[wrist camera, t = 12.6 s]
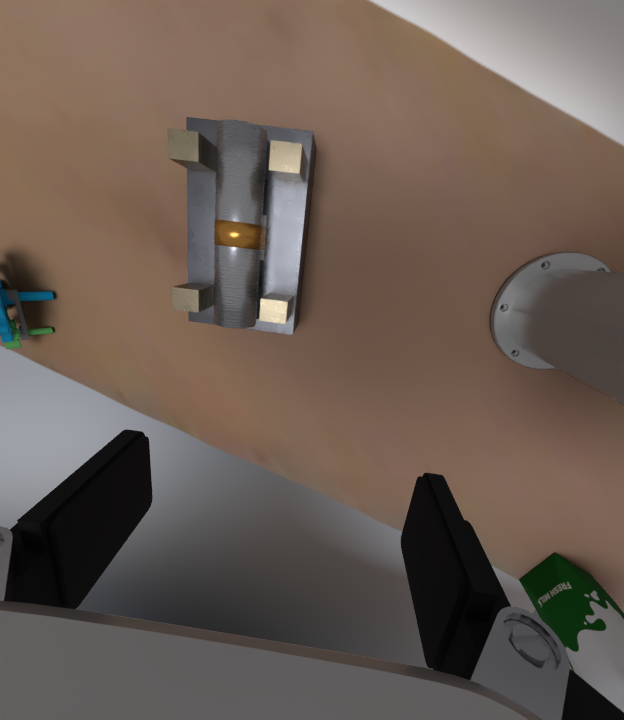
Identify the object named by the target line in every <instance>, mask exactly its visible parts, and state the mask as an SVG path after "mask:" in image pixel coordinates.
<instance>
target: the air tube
mask: <svg viewBox="0 0 624 720" xmlns="http://www.w3.org/2000/svg"><path fill="white" fill-rule="evenodd" d="M267 134H268V133H267V131H266V130H264V129H263V128H261V127H259V126H257V125H254V124H251V123H248V122H244V121H238V120H221V121H218V122H217V139H216V203H215V228H214V244H215V267H214V323H215V324H216V325H219V326H222V327H228V328H250V327H254V326H255V325H256V316H257V299H258V283H259V266H260V250H261V242H262V217H263V200H264V184H265V167H266V151H267Z"/></svg>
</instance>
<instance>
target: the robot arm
mask: <svg viewBox="0 0 624 720" xmlns="http://www.w3.org/2000/svg"><path fill="white" fill-rule="evenodd" d="M542 263H543V265H542V267H541V264H542ZM501 305H502V308H501V309H500V306H501ZM490 322H491V332H492V335H493V339H494V341H495V343H496V345H497V346H498V348H499V349H500V350H501V351H502V352H503V354H504V355H506V356H507V357H508V358H510V359H511V360H513V361H515V362H516V363H518V364H520V365H523V366H526V367H529V368H534V369H554V368H557V369H559V370H561V371H563V372H565V373H566V374H568V375H570V376H572V377H574V378H576V379H577V380H579V381H581V382H583V383H585V384H586V385H588V386H590V387H592V388H594V389H596V390H597V391H599V392H601V393H603V394H605V395H607V396H608V397H610V398H612V399H614V400H616V401H618V402H619V403H621V404H623V405H624V273H617V272H612V271H611V270H610V269H609V267H608V266H606V265H605V264H604V263H603V262H601V261H600V260H598V259H596V258H594V257H592V256H590V255H585V254H581V253H570V252H565V253H554V254H550V255H546V256H542V257H540V258H537V259H535V260H533V261H531V262H529V263H527V264H526V265H524V266H523V267H521V268H520V269H518V270H517V271H516V272H515V273H514V274H513V275H512V276H511V277H510V278H509V279H508V280H507V281H506V282H505V284H504V285H503V286H502V288H501V289H500V291H499V293H498V295H497V296H496V298H495V301H494V304H493V307H492V312H491V318H490ZM512 351H513V352H512ZM151 503H152V483H151V467H150V450H149V439H148V437H145V435H144V433H143V432H140V431H134V430H124V431H122V432H121V433H120V434H119V435H117V436H116V437H115V438H114V439H113V440H112V441H111V442H109V443H108V444H107V445H106V446H104V447H103V448H102V449H101V450H100V451H99V452H97V453H96V454H95V455H94V456H93V457H91V458H90V459H89V460H88V461H87V462H86V463H84V464H83V465H82V466H81V467H80V468H79V469H77V470H76V471H75V472H74V473H73V474H71V475H70V476H69V477H68V478H67V479H66V480H64V481H63V482H62V483H61V484H60V485H59V486H57V487H56V488H55V489H54V490H53V491H51V492H50V493H49V494H48V495H47V496H46V497H44V498H43V499H42V500H41V501H40V502H38V503H37V504H36V505H35V506H34V507H33V508H31V509H30V510H29V511H28V512H27V513H26V514H24V515H23V516H22V517H21V518H20V519H18V520H17V521H18V523H17V524H16V525H15V526H14V527H12V528H11V529H10V530H9V529H7V528H4V527H0V720H624V712H622V711H621V710H620V709H619V708H618V707H616V706H615V705H614V704H613V703H611V702H610V701H609V700H608V699H607V698H605V697H604V696H603V695H602V694H600V693H599V692H598V691H597V690H596V689H594V688H593V687H592V686H591V685H589V684H588V683H587V682H586V681H585V680H583V679H582V678H581V677H580V676H579V675H577V674H576V673H575V672H574V671H572V670H571V669H570V665H569V657H568V654H567V652H566V649H565V647H564V645H563V644H562V642H561V641H560V639H559V638H558V636H557V635H556V634H555V633H554V632H553V630H552V629H551V628H550V627H549V626H548V625H547V624H546V623H544V622H543V621H542V620H541V619H540V618H538V617H537V616H535V615H534V614H532V613H530V612H529V611H527V610H524V609H521V608H518V607H511V605H510V603H509V601H508V599H507V597H506V595H505V593H504V591H503V589H502V587H501V585H500V583H499V581H498V579H497V577H496V574H495V572H494V571H493V568H492V566H491V564H490V562H489V560H488V558H487V556H486V554H485V552H484V550H483V548H482V546H481V544H480V541H479V539H478V537H477V535H476V533H475V531H474V529H473V527H472V526H471V524H470V523H469V522H468V521H466V520H464V519H463V517H462V515H461V512H460V510H459V508H458V506H457V504H456V502H455V500H454V497H453V495H452V493H451V491H450V489H449V487H448V485H447V482H446V480H445V478H444V477H443V476H442V475H438V474H431V473H424V474H423V477H421V476H419V477H418V478H417V481H416V484H415V488H414V492H413V495H412V499H411V503H410V506H409V510H408V513H407V517H406V521H405V524H404V528H403V532H402V536H401V548H402V554H403V558H404V563H405V568H406V572H407V577H408V581H409V586H410V591H411V596H412V600H413V605H414V609H415V614H416V618H417V624H418V628H419V633H420V638H421V642H422V647H423V652H424V656H425V661H426V664H427V666H428V668H432V669H433V670H431V669H427V668H422V667H417V666H412V665H407V664H401V663H396V662H391V661H385V660H380V659H375V658H370V657H364V656H358V655H352V654H346V653H341V652H335V651H328V650H323V649H317V648H311V647H305V646H300V645H294V644H287V643H282V642H276V641H270V640H264V639H258V638H252V637H246V636H239V635H233V634H227V633H221V632H215V631H208V630H203V629H196V628H190V627H184V626H178V625H172V624H165V623H159V622H153V621H146V620H140V619H134V618H127V617H120V616H114V615H108V614H102V613H95V612H89V611H82V610H75V609H76V608H77V607H78V606H79V605H80V604H81V602H82V601H83V600H84V598H85V597H86V595H87V594H88V592H89V591H90V590H91V588H92V587H93V586H94V584H95V583H96V582H97V580H98V579H99V577H100V576H101V575H102V573H103V572H104V570H105V569H106V568H107V566H108V565H109V564H110V562H111V561H112V559H113V558H114V557H115V555H116V554H117V552H118V551H119V550H120V548H121V547H122V546H123V544H124V543H125V542H126V540H127V539H128V537H129V536H130V534H131V533H132V532H133V530H134V529H135V528H136V526H137V525H138V523H139V522H140V521H141V519H142V518H143V517H144V515H145V514H146V512H147V511H148V510H149V508H150V506H151Z"/></svg>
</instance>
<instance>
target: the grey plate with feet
mask: <svg viewBox="0 0 624 720" xmlns="http://www.w3.org/2000/svg"><path fill="white" fill-rule="evenodd" d="M186 118H187V131H186V130H177V129H168V158H169V159H171V160H173V161H174V162H176V163H178V164H180V165H182V166H184V167H186V168H187V208H188V283H187V284H183V285H178V286H174V287H172V303H173V309H175V310H183V311H189V321H193V322H201V323H208V324H215V323H214V267H215V244H214V228H215V203H216V139H217V122H218V121H217V120H208V119H199V118H190V117H186ZM257 126H259V127H261V128H263V129H264V130H266V131H267V133H268V134H267V151H266V167H265V184H264V200H263V217H262V242H261V250H260V266H259V283H258V299H257V316H256V325H255V326H254V327H250V328H246V329H253V330H261V331H268V332H276V333H283V334H291V335H293V333H294V331H295V329H296V327H297V325H298V320H299V311H300V301H301V292H302V282H303V273H304V263H305V253H306V244H307V234H308V225H309V215H310V205H311V196H312V186H313V177H314V167H315V158H316V144H315V139H314V134H313V131H306V130H297V129H288V128H279V127H270V126H261V125H257Z"/></svg>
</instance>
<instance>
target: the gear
mask: <svg viewBox="0 0 624 720" xmlns="http://www.w3.org/2000/svg"><path fill="white" fill-rule="evenodd" d="M38 300H54V298H53V293H52V291H42V292H18V291H17V290H3V288H2V284H1V281H0V335H1V338H2V342H5V346H6V349H12V348H20V347H21V343H20V340H19V338H20V337H21V339H22V340H26V339H29V335H38V334H48V333H53V330H52V327H48V328H37V329H27V327H26V323H25V319H24V315H23V311H22V307H21V303H20V301H38ZM12 304H16V308H17V312H18V316H19V319H20V323H21V326H18V327H19V329H17V327H16V323H15V319H12V320H10V318H9V317H8V313H7V310H8V308H7V305H12ZM11 328H12V330H11ZM12 331H13V333H12ZM13 335H14V338H13Z"/></svg>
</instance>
